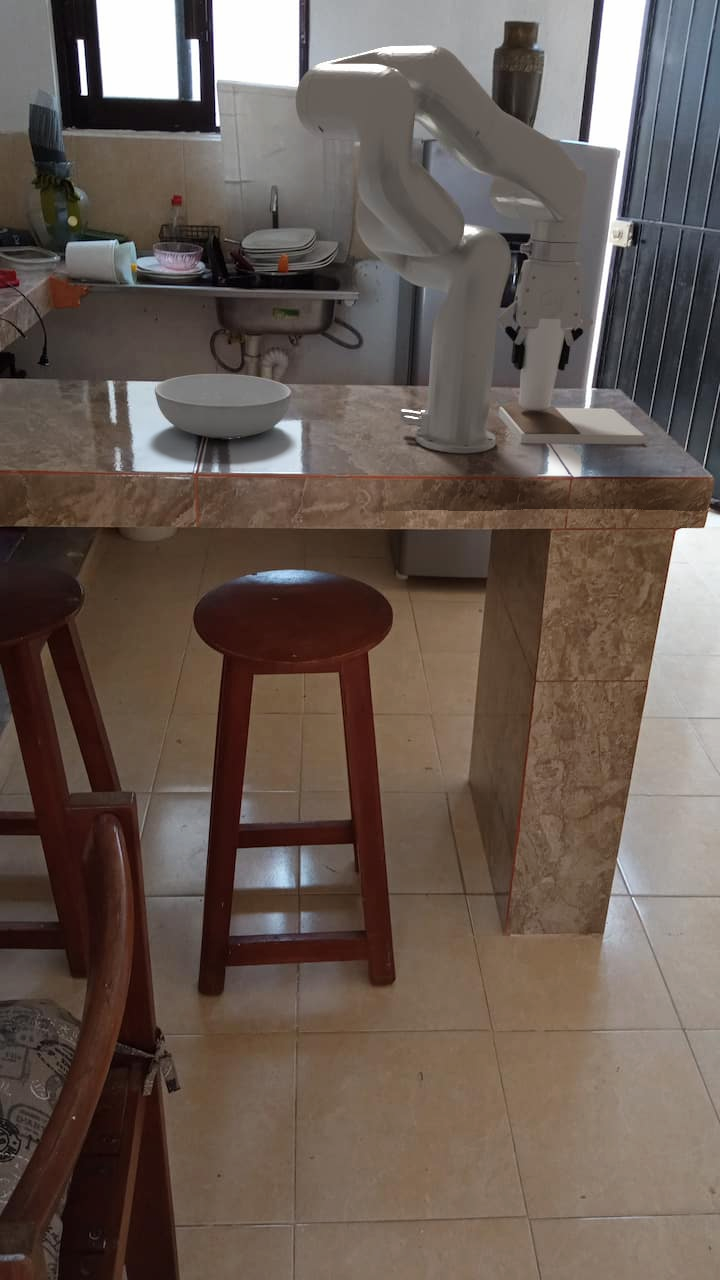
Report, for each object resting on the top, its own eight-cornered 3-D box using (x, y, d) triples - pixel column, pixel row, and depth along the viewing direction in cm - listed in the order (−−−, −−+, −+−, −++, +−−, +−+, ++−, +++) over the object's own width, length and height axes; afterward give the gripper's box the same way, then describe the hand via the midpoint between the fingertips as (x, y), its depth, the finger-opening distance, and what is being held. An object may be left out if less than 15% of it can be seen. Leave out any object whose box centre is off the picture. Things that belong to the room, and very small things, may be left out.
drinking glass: (546, 415, 164) (558, 320, 157) (507, 408, 167) (518, 315, 160) (560, 406, 169) (572, 315, 162) (522, 400, 172) (533, 309, 165)
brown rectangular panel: (523, 442, 158) (524, 432, 157) (501, 415, 172) (502, 406, 171) (578, 443, 159) (580, 433, 158) (552, 416, 173) (553, 406, 172)
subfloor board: (520, 443, 158) (521, 434, 157) (498, 415, 172) (499, 407, 171) (642, 444, 160) (644, 435, 159) (611, 417, 174) (612, 408, 173)
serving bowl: (305, 447, 152) (306, 402, 149) (167, 455, 146) (164, 408, 143) (273, 411, 170) (273, 370, 166) (149, 416, 164) (146, 374, 160)
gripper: (504, 254, 152) (492, 372, 161) (614, 257, 154) (596, 374, 162) (493, 248, 159) (482, 362, 167) (599, 251, 161) (583, 364, 169)
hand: (538, 367), depth 165 cm, fingers closed on drinking glass, 6 cm apart
